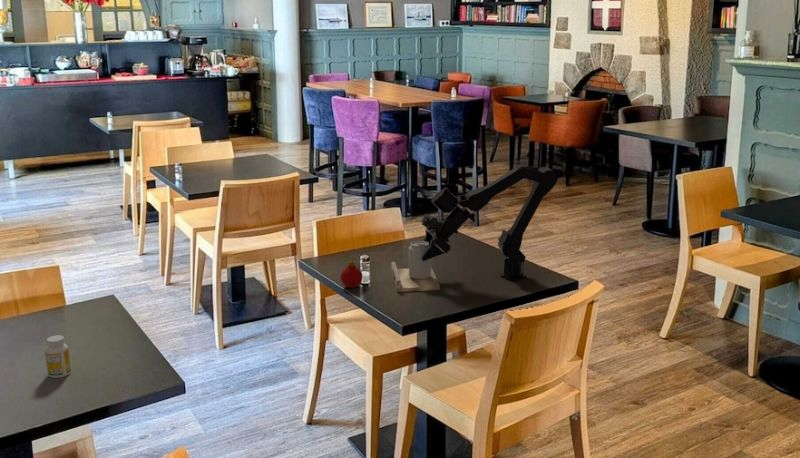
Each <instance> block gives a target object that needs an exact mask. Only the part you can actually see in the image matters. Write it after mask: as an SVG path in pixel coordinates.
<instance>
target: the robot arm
mask: <svg viewBox="0 0 800 458" xmlns="http://www.w3.org/2000/svg"><path fill="white" fill-rule="evenodd" d="M524 179H526V180H528V181H532V185H531V190H530V192H529V194H528V196H527V197H526V200H524V201H525V202H524V203H523V205H522V207H521V209H520V211H519V213H518V215H517V216H516V218H515V221H514V222H513V224H512V225H511V227H510V228H509V229H507V230H506V229H502V231H501V235H500V236H499V237H498V238H497V240H498V242H497V247H498V250H499V251H500V252H501V253H502V255H503V256H504V257H505V259H504V261H503V262H504V263H503V273H501V274H500V276H499V277H502V278H505V279H508V280H512V281H517V280H520V279H523V278H526V277H527V274H525V273H524V262H525V260H526V259H527V258H526V257H527V256H526V255H525V254H524V252H523V251H521V246H522V242H523V236H524V233H525V232H526V230H527V228H528V226H529V224H530V222H531V220H532V219H533V217H534V215H535V213H536V211H537V209H538V208H539V206H540V204H541V202H542V200H543V198H544V197H545V196H546V195H548V193H550V192H551V191H552V190H553V188H554V187H555V185H557V183H558V180H559V179H558V175H557V173H556V172H555V171H554V170H552V169H550V167H547V166H542V167H534V166H530V165H529V166H528V165H524V164H518V165H516V167H514V168H513V169H511V170H509V171H508V172H506V173H504V174H503V175H501V176H500V177H498V178H496V179H495V180H493V181H492V182H490V183H489V184H486V185H484V186H481V187H477V188H474V189H472V190H469V191H468V192H466V193H465V194H461V195H456V196H455V195H454V194H453V193H452V192H451V191H450V189H449V188H448V187H444V188H443V189H441V190H440V191H438V192H436V194H435V195H434V196H433V197H432V198H431V203H432V204H433V205H434V206H435V207H436V208H437V209H439V210H440V211H441V212H442V213H443V214H447V216H445V217H441V218H440V219H439V218H437V217H435V216H432V215H430V214H427V213H425V214H424V215H423V217H422V220H421V221H420V223H421V225H422V226H423V227H425V237H424V239H423V241H426V242H428V243H429V246H430V247H429V248H428V250H427V251H426V253H425V254H424V255H423V257H422V258H421V259H422V260H423V261H425V260H428V259H430V258H431V259H433V258H435V257H437V256H441V255H444V254H448V253H449V252H450V251H451V248H452V247H451V244H450V238H452V237H453V236H454V234H455V235H457V234H458V233H459V229H460V228H461V227H462V226H463V225H464V224H465V223H466V222H467V221H468V220H470V221H471V222H472V223H475V222H476V220H475V216H476V214H475V212H479V211H481V210H482V209H484V207H485V206H487V205H488V203H490V201H491V200H492V199H493V198H495V197H496V196H497V195H499V194H501V193H502V192H504V191H506V190H507V189H508V188H510V187H512V186H514V185H516V184H517V183H519V182H520V181H522V180H524ZM460 206H461V207H460ZM470 211H471V212H470Z"/></svg>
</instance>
